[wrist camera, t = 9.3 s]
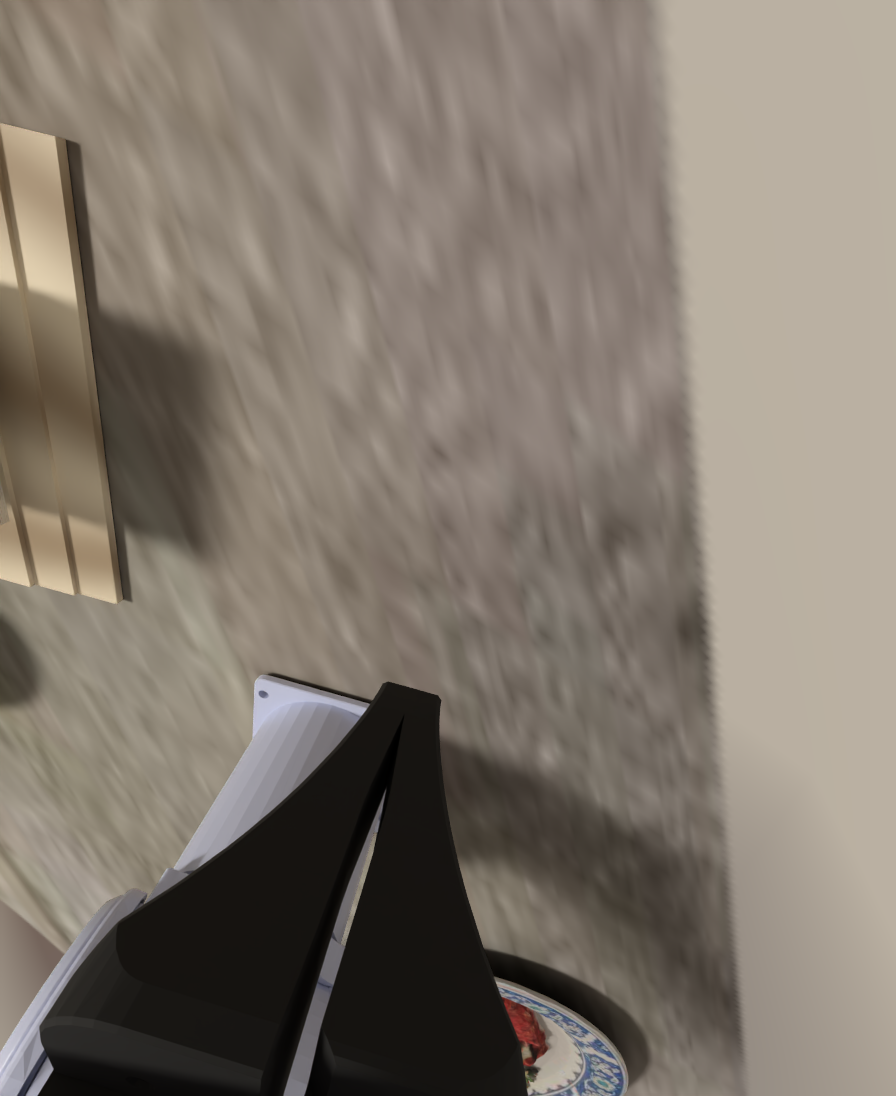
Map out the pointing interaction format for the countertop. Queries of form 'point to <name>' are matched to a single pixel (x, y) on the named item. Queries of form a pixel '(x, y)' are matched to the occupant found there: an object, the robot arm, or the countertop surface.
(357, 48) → the countertop surface
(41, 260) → the dock
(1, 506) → the green and grey box
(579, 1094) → the ceramic plate
